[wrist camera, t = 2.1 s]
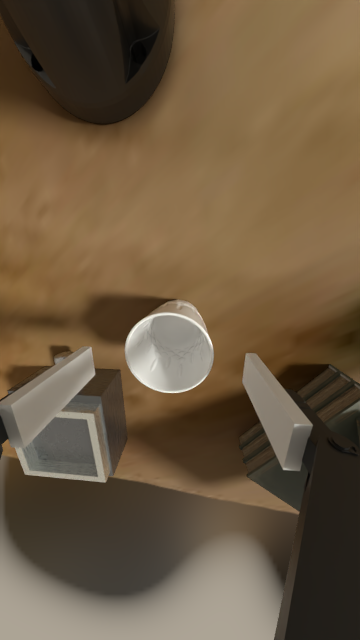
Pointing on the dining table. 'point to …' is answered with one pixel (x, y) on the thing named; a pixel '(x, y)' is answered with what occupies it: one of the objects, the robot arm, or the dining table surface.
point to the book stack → (331, 407)
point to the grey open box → (80, 432)
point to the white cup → (170, 348)
